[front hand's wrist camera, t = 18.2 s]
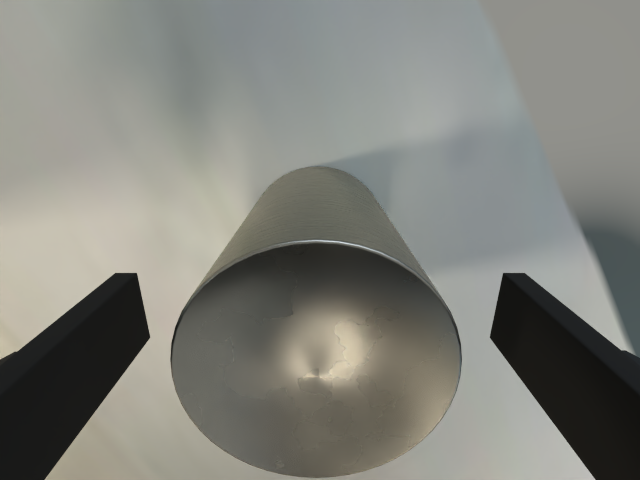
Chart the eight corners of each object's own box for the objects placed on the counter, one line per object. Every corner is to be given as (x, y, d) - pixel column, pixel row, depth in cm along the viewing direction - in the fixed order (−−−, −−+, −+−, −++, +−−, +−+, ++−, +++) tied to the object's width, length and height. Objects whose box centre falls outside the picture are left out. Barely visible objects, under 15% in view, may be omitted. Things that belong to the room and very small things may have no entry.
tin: (229, 254, 22) (127, 417, 10) (291, 139, 19) (250, 177, 8) (339, 311, 23) (360, 510, 11) (409, 210, 21) (525, 332, 9)
